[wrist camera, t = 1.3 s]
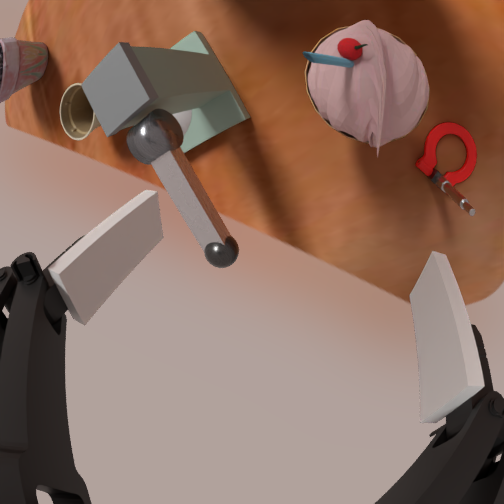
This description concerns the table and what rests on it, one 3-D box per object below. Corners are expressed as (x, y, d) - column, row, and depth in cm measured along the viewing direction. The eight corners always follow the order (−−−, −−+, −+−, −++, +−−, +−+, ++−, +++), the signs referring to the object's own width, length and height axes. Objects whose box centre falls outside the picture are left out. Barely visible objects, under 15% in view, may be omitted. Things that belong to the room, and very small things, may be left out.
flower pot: (140, 91, 35) (101, 98, 28) (120, 136, 41) (84, 150, 34) (106, 69, 34) (68, 74, 27) (90, 112, 39) (55, 124, 33)
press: (125, 93, 36) (28, 119, 21) (203, 31, 28) (102, 11, 13) (165, 165, 42) (78, 220, 27) (253, 116, 34) (176, 146, 18)
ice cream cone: (320, 125, 32) (298, 166, 16) (310, 46, 26) (276, -2, 10) (402, 129, 28) (464, 177, 13) (396, 48, 22) (456, 11, 7)
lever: (146, 123, 22) (118, 132, 19) (170, 105, 21) (142, 111, 18) (224, 256, 28) (208, 280, 25) (250, 248, 27) (236, 273, 24)
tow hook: (442, 109, 25) (408, 160, 30) (491, 118, 14) (442, 192, 20) (482, 149, 25) (449, 197, 31) (533, 177, 15) (488, 241, 20)
